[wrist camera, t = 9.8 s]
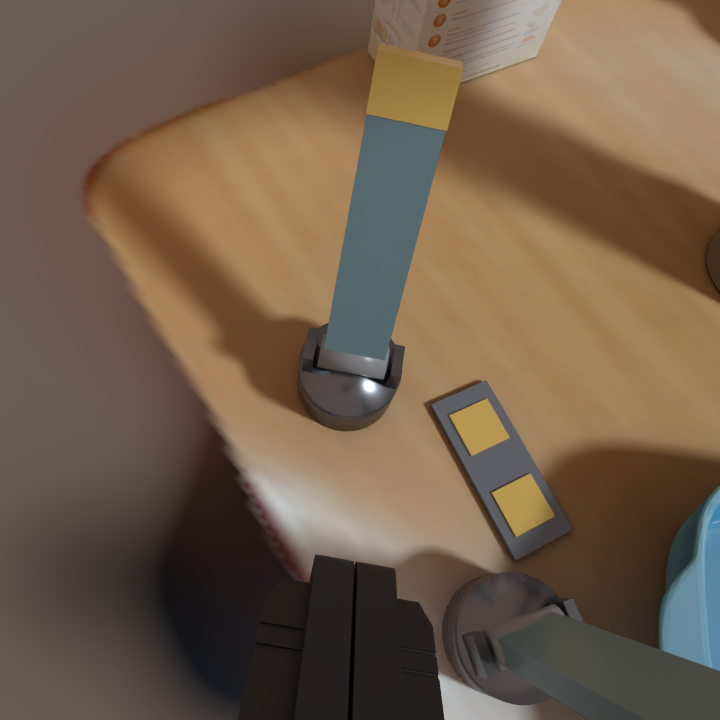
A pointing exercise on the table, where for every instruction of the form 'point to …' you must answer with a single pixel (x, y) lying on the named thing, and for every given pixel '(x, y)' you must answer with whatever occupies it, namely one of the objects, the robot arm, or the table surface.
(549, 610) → the near lever
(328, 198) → the table surface
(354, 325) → the far lever
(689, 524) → the casserole dish
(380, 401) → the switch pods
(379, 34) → the coffeecake box
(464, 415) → the chart card
